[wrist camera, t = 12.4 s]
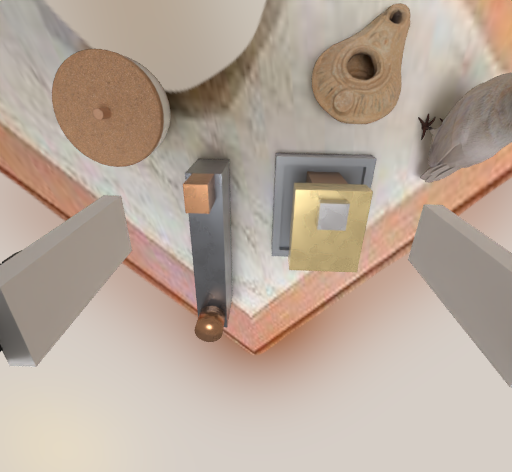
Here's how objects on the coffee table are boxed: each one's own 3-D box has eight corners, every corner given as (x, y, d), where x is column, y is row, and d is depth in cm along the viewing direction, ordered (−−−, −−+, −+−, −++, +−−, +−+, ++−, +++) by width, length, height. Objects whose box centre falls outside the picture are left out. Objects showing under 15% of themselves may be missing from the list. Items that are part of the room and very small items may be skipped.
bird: (478, 58, 33) (624, 39, 19) (440, 178, 39) (530, 228, 25) (432, 56, 33) (546, 36, 19) (401, 177, 39) (472, 225, 25)
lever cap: (293, 182, 33) (296, 193, 30) (365, 184, 33) (376, 195, 30) (288, 259, 38) (289, 275, 35) (351, 261, 38) (359, 278, 34)
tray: (276, 152, 38) (277, 164, 33) (371, 155, 38) (388, 166, 32) (271, 249, 44) (272, 271, 39) (353, 251, 44) (364, 274, 39)
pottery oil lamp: (430, 43, 32) (469, 33, 26) (349, 135, 37) (365, 145, 30) (373, -20, 30) (401, -47, 24) (295, 87, 35) (300, 87, 28)
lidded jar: (195, 87, 35) (172, 88, 27) (163, 167, 39) (134, 189, 31) (107, 35, 33) (51, 18, 25) (83, 125, 37) (29, 137, 29)
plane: (198, 158, 39) (174, 183, 29) (229, 159, 39) (215, 185, 29) (208, 295, 49) (192, 348, 39) (232, 296, 48) (223, 349, 39)
